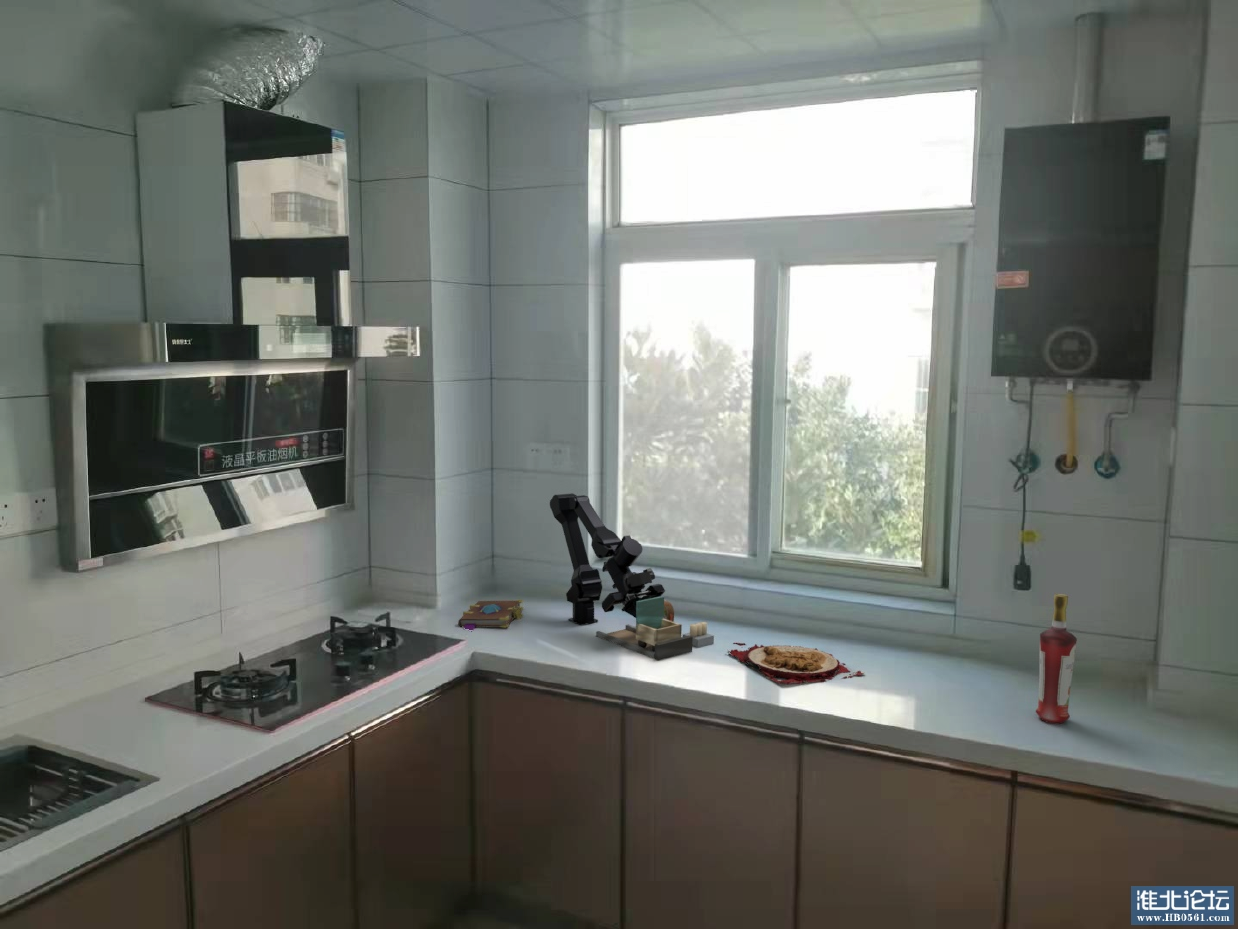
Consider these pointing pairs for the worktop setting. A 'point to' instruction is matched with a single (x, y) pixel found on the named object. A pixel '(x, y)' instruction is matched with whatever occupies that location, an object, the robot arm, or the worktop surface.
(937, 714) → the worktop surface
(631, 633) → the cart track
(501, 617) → the book
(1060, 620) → the liquor
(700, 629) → the grey block with cylinders
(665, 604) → the tin
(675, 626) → the cart
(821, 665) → the plate with food
